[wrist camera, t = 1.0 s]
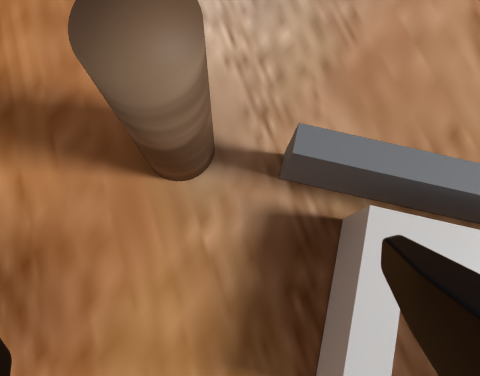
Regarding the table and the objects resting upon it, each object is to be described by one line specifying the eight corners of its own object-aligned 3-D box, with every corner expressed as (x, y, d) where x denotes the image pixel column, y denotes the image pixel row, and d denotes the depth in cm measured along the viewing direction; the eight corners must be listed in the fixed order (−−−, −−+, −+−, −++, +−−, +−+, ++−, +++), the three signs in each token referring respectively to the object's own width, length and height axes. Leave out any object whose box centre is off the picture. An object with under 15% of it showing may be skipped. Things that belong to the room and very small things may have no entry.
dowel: (205, 187, 24) (184, 99, 12) (137, 172, 24) (49, 69, 12) (221, 123, 24) (216, -18, 13) (155, 108, 24) (91, -46, 13)
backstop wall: (586, 248, 24) (681, 240, 19) (279, 178, 24) (292, 152, 19) (588, 222, 24) (680, 208, 19) (284, 154, 24) (298, 122, 19)
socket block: (503, 430, 21) (576, 470, 17) (314, 386, 21) (337, 414, 17) (517, 258, 23) (585, 253, 19) (343, 218, 23) (369, 205, 19)
